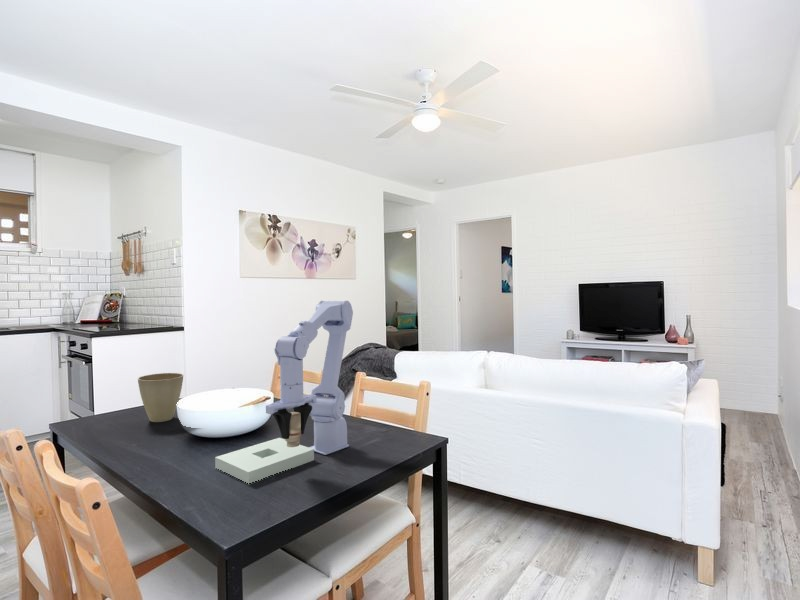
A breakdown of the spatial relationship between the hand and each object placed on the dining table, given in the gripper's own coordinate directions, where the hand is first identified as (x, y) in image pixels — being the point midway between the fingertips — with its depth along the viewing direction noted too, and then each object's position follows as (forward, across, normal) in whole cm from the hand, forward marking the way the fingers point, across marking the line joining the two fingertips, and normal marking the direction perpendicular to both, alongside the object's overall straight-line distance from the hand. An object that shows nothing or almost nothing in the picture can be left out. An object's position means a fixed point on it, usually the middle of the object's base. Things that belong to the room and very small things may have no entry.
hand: (292, 435), depth 117 cm
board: (+9, -1, +10) cm, 14 cm away
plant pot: (+10, +1, +78) cm, 79 cm away
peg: (+2, 0, 0) cm, 2 cm away
